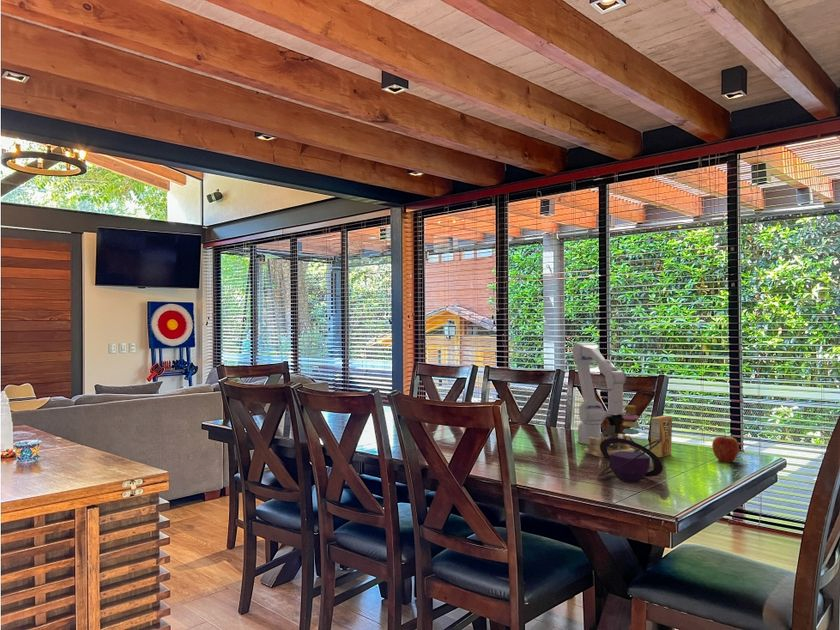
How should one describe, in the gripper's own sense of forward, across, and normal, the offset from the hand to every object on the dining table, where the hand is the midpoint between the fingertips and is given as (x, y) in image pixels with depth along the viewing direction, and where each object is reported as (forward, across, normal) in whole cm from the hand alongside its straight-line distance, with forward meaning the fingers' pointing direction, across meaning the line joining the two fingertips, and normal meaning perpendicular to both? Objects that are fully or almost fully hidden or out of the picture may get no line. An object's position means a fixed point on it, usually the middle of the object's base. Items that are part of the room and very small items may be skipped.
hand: (615, 433), depth 253 cm
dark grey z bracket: (+5, -3, 0) cm, 6 cm away
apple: (+8, +26, -31) cm, 41 cm away
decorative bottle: (+8, -30, -36) cm, 48 cm away
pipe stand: (+7, -3, 0) cm, 8 cm away
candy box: (+8, +12, -13) cm, 19 cm away
